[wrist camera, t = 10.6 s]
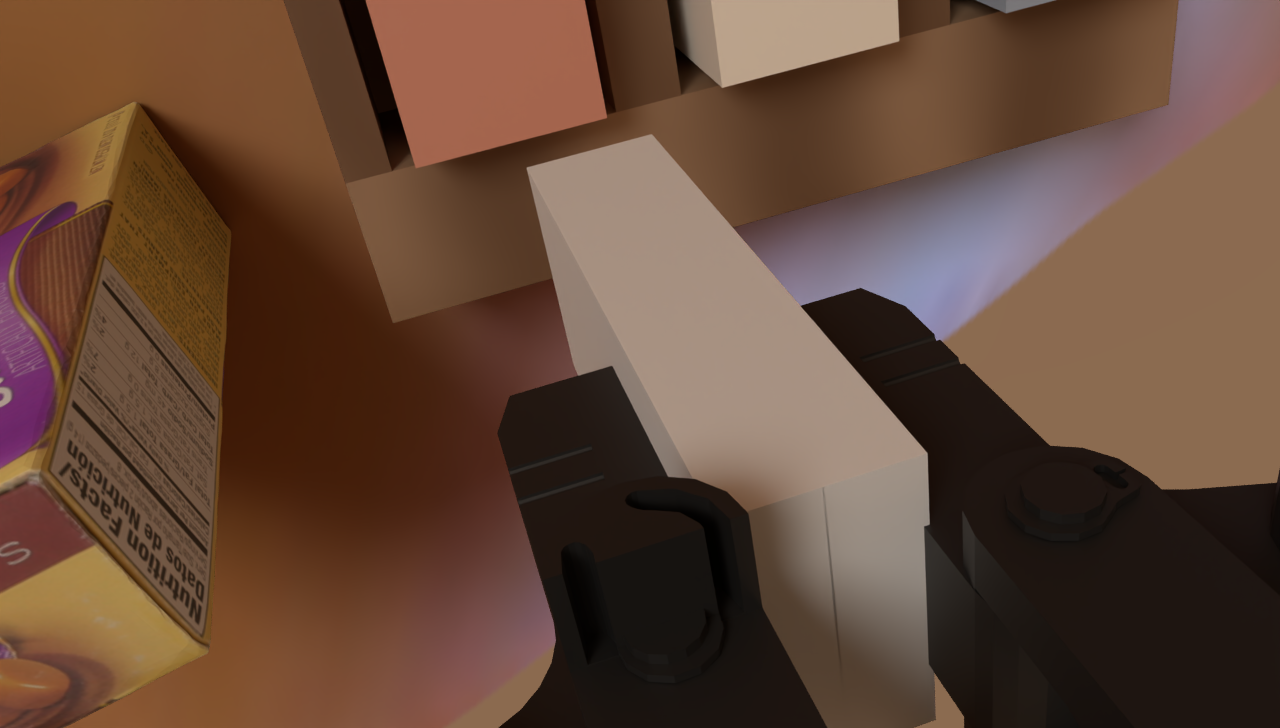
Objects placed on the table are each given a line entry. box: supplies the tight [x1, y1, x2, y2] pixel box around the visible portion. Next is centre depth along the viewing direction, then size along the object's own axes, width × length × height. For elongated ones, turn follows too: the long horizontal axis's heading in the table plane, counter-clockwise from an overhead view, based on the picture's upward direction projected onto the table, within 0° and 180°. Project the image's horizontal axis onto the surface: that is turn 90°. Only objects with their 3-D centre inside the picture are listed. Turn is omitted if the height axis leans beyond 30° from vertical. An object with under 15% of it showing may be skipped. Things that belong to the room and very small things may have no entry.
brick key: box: [366, 0, 607, 168], centre depth 23 cm, size 4×4×4 cm
